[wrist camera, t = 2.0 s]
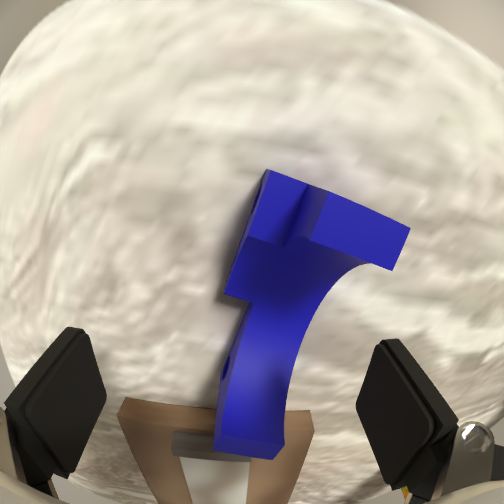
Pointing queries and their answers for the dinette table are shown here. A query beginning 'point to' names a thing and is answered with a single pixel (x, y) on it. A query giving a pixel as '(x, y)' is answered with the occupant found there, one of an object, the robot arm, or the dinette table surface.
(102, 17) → the dinette table surface
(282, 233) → the blue curved piece
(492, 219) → the dinette table surface
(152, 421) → the rail board
